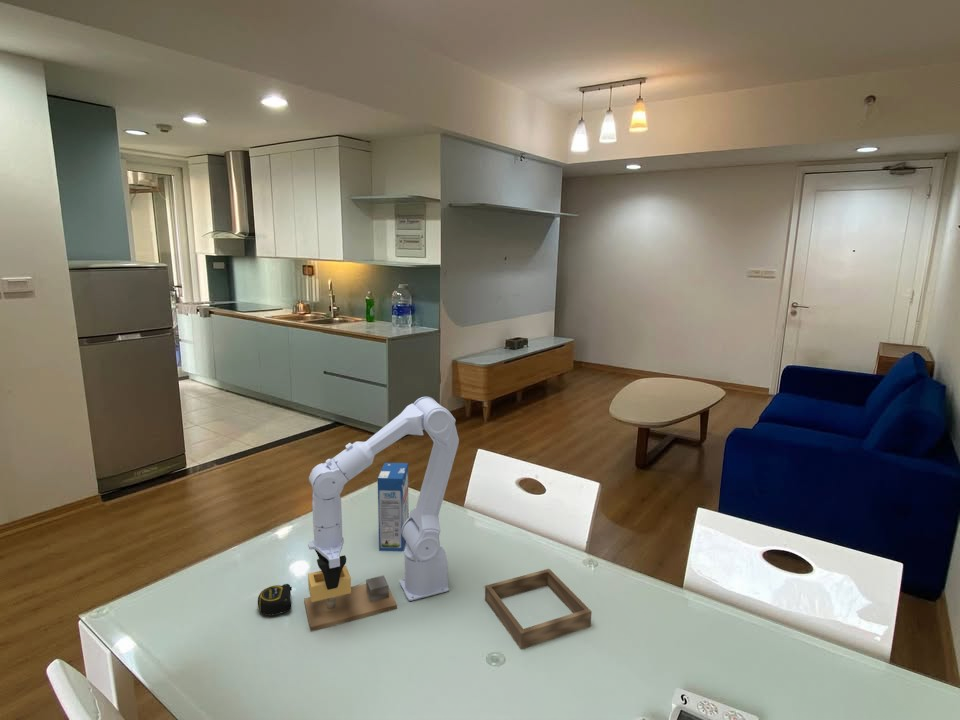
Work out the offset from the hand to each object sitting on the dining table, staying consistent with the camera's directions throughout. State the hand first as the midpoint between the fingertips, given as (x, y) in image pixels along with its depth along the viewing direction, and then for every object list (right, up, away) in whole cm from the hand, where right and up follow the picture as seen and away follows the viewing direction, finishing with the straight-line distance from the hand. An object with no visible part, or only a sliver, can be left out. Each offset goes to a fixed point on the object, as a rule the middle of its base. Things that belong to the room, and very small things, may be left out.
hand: (330, 580), depth 114 cm
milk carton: (+9, -2, +29) cm, 31 cm away
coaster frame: (+44, -8, +2) cm, 44 cm away
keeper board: (+4, -7, +3) cm, 8 cm away
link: (0, -2, 0) cm, 2 cm away
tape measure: (-12, -7, +3) cm, 14 cm away
